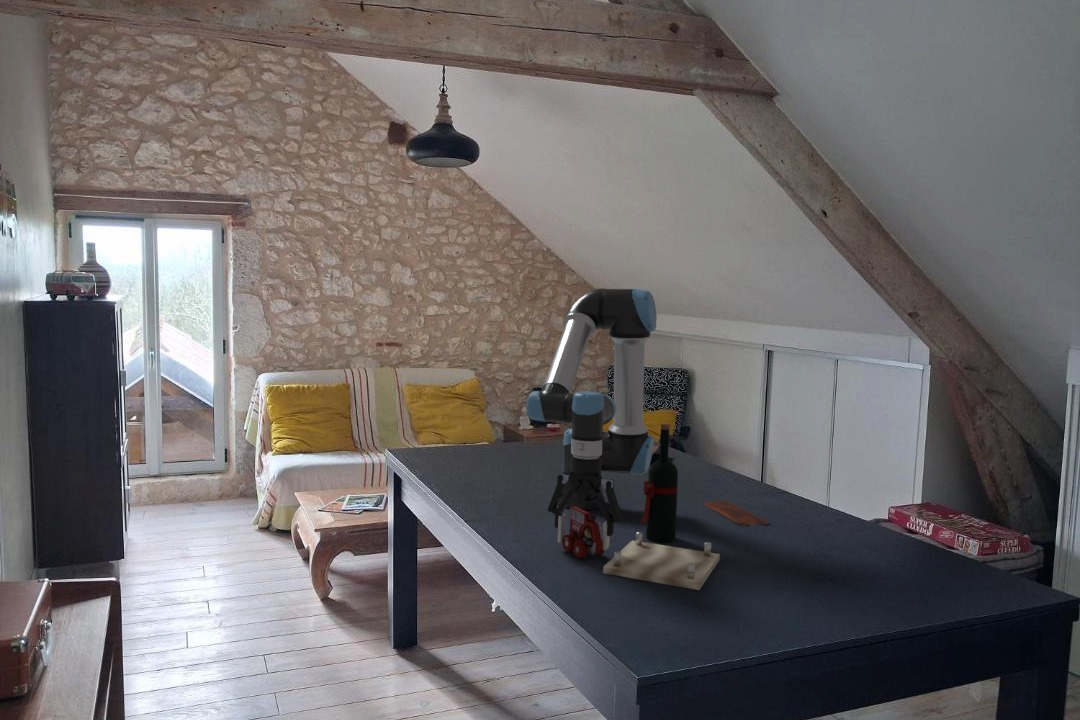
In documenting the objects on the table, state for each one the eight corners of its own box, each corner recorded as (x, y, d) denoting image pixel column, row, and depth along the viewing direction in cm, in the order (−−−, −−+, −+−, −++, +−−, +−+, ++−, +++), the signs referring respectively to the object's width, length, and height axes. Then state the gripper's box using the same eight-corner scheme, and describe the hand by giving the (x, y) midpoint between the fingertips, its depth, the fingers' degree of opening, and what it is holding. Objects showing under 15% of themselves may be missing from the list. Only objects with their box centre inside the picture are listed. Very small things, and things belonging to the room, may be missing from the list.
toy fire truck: (585, 563, 191) (586, 519, 190) (558, 547, 201) (559, 506, 201) (609, 558, 194) (611, 516, 193) (582, 544, 205) (583, 503, 204)
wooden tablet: (772, 527, 227) (772, 521, 227) (739, 528, 224) (740, 523, 224) (728, 502, 253) (728, 496, 252) (698, 503, 250) (698, 498, 250)
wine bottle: (632, 537, 212) (636, 423, 209) (662, 532, 217) (667, 421, 214) (651, 546, 205) (655, 428, 202) (682, 540, 210) (687, 426, 208)
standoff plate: (603, 573, 184) (603, 553, 184) (631, 546, 204) (632, 528, 204) (699, 590, 175) (700, 569, 175) (719, 560, 196) (720, 541, 195)
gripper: (535, 453, 197) (533, 541, 199) (628, 464, 188) (624, 556, 190) (547, 448, 204) (545, 533, 206) (637, 458, 194) (633, 547, 196)
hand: (583, 544), depth 198 cm, fingers closed on toy fire truck, 11 cm apart
